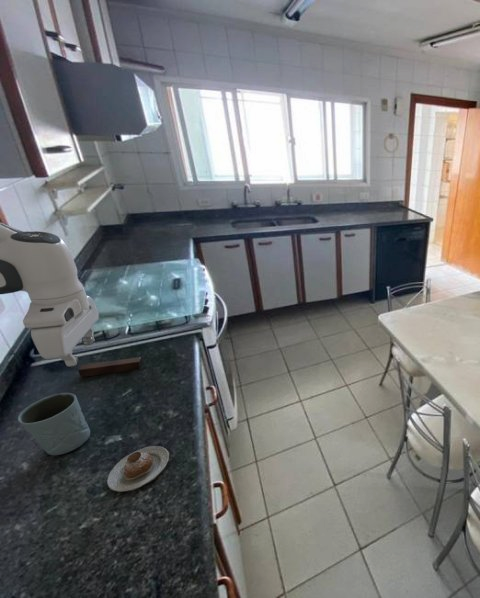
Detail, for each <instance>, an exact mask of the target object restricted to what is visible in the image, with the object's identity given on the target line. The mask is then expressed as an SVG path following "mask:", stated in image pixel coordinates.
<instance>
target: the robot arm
mask: <svg viewBox="0 0 480 598" xmlns="http://www.w3.org/2000/svg"><path fill="white" fill-rule="evenodd" d="M17 292H25V293H26V294H28V297H29V299H30V303H29V307H28V309H27V312H26V314H25V315H24V317H23V319H22V323H23V327H25V328H26V329H31V330H30V335H31V336H30V337H31V339H32V342H33V344H34V346H35V349H36V350H37V352H38V354H39V355H40V357H41V358H43V359H44V360H47V361H50V360H58V359H59V360H62V361H64V364H65V366H66V367H74V366H75V367H76V366H77V364H78V363H79V361H80V360H79V358H78V356H77V355H74V354H73V353H74V351H73V350H74V348H75V347H76V346H77V345H78V344H79V343H80V341H82V343H83V345H84V346H91V345H93V344H94V342H95V341H96V340H95V337H94V326H95V324H96V323H97V321H99V319H100V314H99V313H100V312H99V311H98V308H97V306H96V304H95V301H94V299H93V298H92V297H91V296H90V295H88V294H87V292H86V290H85V287H84V284H83V283H82V282H81V281H80V280H79V277H78V268H77V264H76V261H75V260H74V257H73V255H72V252H71V251H70V249H69V247H68V245H67V243H65V241H64V240H63V238H61V237H60V236H58V235H56V234H55V233H54V234H53V233H52V232H51V233H50V232H46V231H39V230H38V231H37V230H36V231H35V230H34V231H23V230H20V229H17V228H15V227H13V226H10V225H8V224H6V223H4V222H1V221H0V295H6V294H7V295H9V294H13V293H17Z"/></svg>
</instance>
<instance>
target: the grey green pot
mask: <svg viewBox="0 0 480 598" xmlns="http://www.w3.org/2000/svg"><path fill="white" fill-rule="evenodd" d="M17 422H18V423H19V424H20V425H21V426H22V427H23V429H25V431H27V433H28V434H30V435H31V436H32V438H33V439H34V440H35V441H36V442H37V444H39V445H40V447H41V449H43V450H44V451H45V452H46V454H47V455H50V456H59V455H60V456H61V455H64V454H67V453H70V452H72V451H74V450H76V449H78V448H80V447H81V446H82V445H84V443H86V441H87V442H88V440H89V439H90V436H91V430H90V427H89V424H88V423H87V421H86V417H85V415H84V413H83V411H82V408H81V405H80V403H79V400H78V398H77V395H76V394H74V393H73V392H72V393H71V392H60V393H55V394H50V395H48V396H45V397H43V398H41V399H38V400H37V401H35V402H33V403H31V404H29V405H27V406H26V407H25V408H24V409H22V411H21V412H20V413H19V415H18V416H17Z"/></svg>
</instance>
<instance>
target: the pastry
mask: <svg viewBox="0 0 480 598" xmlns="http://www.w3.org/2000/svg"><path fill="white" fill-rule="evenodd" d="M169 460H170V452H169V451H168V450H167V449H166V448H165V447H163V446H157V445H149V446H146V447H143V448H140V449H138V450H136V451H133V452H131V453H130V454H128V455H126V456H125V457H123V458H122V459H120V460H119V462H117V463H116V464H115V465H114V467H113V468H112V469H111V470H110V472H109V474H108V477H107V480H106V484H107V487H108V488H109V489H110V490H111V491H113V492H117V493H121V492H133V491H135V490H138V489H140V488H141V487H143V486H146V485H148V484H150V483H152V482H153V481H154V480H156V479H157V478H158V477H159V475H160V474H161V473H162V472H163V471H164V469H165V468H166V466H167V464H168V463H169Z"/></svg>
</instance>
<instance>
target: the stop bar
mask: <svg viewBox="0 0 480 598" xmlns="http://www.w3.org/2000/svg"><path fill="white" fill-rule="evenodd" d="M142 366H143V360H142V357H141V356H138V357H131V358H123V359H114V360H108V361H107V360H106V361H100V362H99V361H98V362H92V363H91V362H90V363H85V364H81V365H80V367H79V368H78V369H77V372H78V373H79V376H80V378H86V377H94V376H101V375H107V374H108V375H109V374H115V373H121V372H126V371H133V370H137V369H141V367H142Z"/></svg>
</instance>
